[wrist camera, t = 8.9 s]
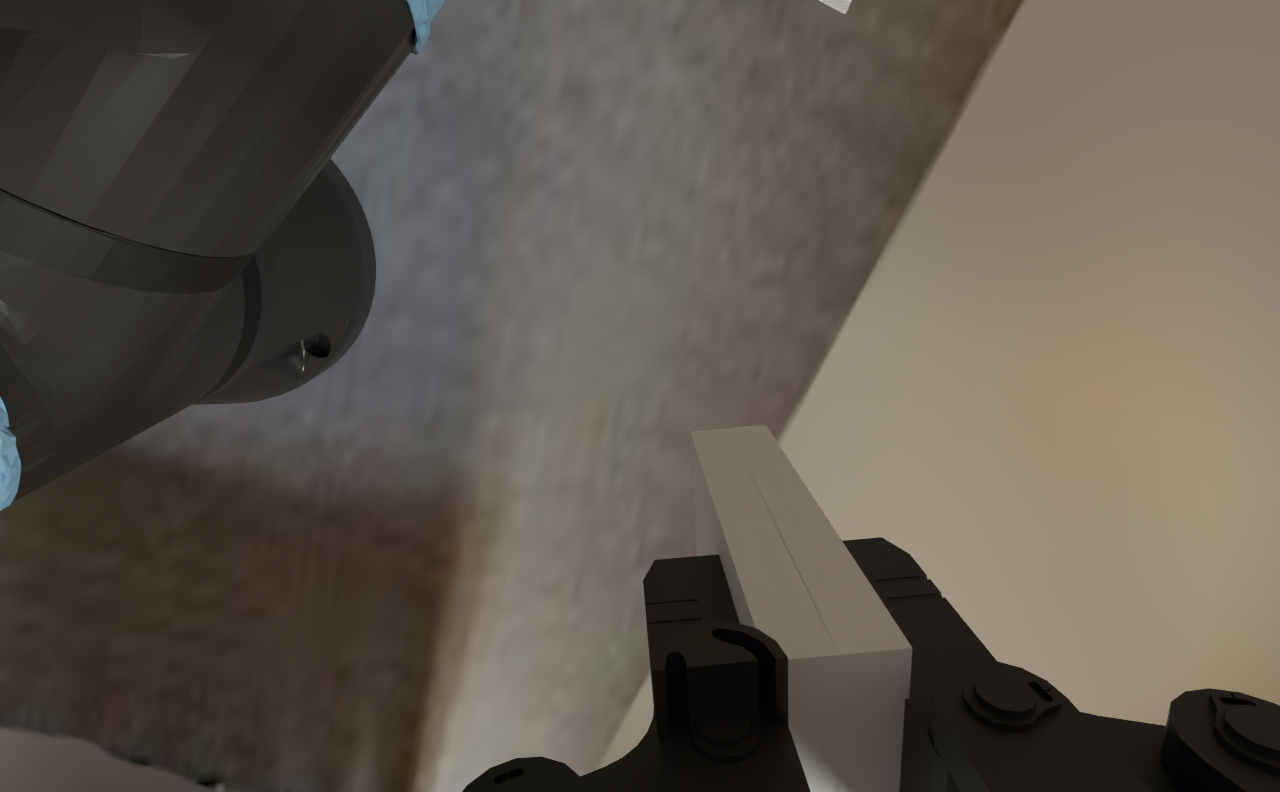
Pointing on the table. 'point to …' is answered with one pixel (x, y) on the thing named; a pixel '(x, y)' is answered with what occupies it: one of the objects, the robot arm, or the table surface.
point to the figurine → (838, 4)
